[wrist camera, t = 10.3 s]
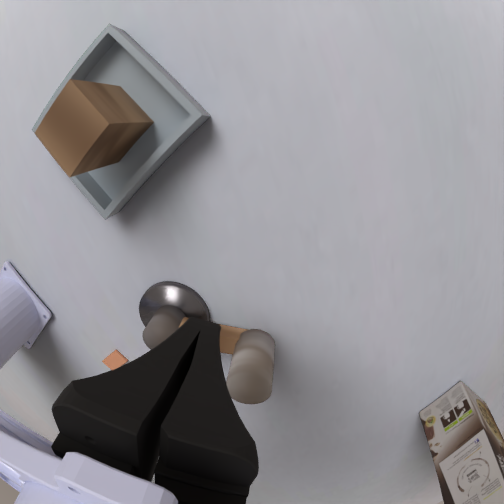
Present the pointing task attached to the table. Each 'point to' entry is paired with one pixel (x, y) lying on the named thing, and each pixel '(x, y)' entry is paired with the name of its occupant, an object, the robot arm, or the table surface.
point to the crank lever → (231, 342)
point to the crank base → (172, 301)
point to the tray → (150, 101)
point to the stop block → (91, 126)
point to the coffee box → (465, 447)
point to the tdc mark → (115, 360)
